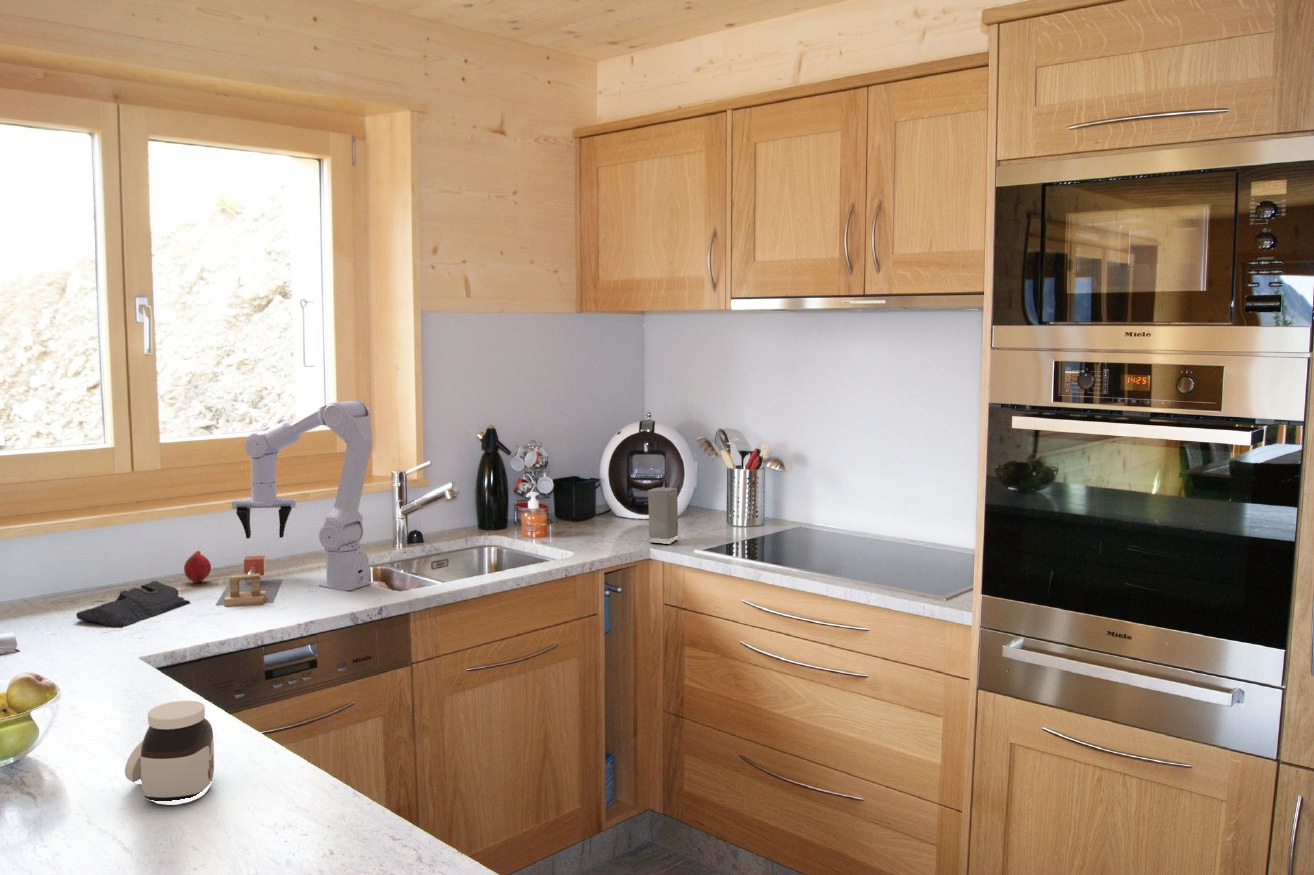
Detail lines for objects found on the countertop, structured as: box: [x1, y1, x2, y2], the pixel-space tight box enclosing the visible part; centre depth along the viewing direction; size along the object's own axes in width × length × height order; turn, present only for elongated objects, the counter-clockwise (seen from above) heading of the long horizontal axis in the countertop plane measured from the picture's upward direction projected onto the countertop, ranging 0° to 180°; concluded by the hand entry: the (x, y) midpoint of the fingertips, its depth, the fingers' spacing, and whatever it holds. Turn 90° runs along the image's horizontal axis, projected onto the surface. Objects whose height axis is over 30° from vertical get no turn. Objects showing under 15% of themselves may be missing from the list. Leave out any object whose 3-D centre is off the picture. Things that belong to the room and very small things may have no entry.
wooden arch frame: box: [223, 573, 266, 607], centre depth 232 cm, size 6×8×6 cm
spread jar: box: [124, 700, 215, 801], centre depth 139 cm, size 12×11×12 cm
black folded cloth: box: [76, 580, 191, 628], centre depth 224 cm, size 15×22×5 cm
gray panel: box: [215, 578, 283, 606], centre depth 241 cm, size 22×12×1 cm, turn 15°
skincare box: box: [647, 487, 679, 539], centre depth 302 cm, size 8×7×16 cm
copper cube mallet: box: [243, 555, 267, 583], centre depth 243 cm, size 16×4×4 cm, turn 15°
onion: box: [183, 549, 212, 584], centre depth 248 cm, size 6×6×8 cm
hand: (265, 537), depth 254 cm, fingers open, 7 cm apart
